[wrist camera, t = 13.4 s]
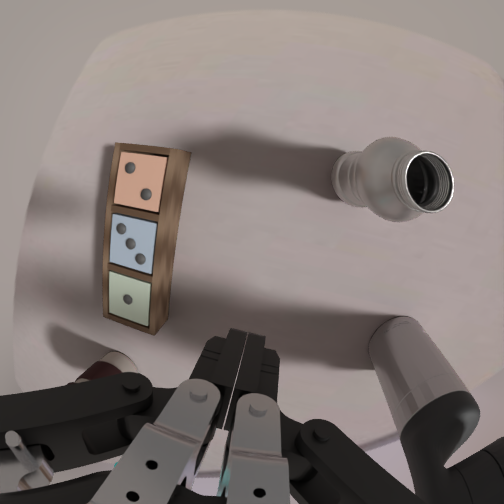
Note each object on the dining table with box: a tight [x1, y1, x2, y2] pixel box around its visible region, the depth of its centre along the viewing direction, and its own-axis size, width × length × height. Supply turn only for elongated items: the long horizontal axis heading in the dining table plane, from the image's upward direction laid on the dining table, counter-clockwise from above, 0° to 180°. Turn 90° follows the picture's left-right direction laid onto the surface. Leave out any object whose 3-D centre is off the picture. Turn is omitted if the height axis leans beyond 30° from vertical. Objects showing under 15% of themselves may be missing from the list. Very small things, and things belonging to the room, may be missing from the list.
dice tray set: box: [103, 143, 191, 336], centre depth 35 cm, size 24×9×5 cm, turn 168°
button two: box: [114, 152, 169, 212], centre depth 32 cm, size 6×6×3 cm
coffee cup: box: [67, 352, 138, 385], centre depth 38 cm, size 10×10×15 cm
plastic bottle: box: [331, 137, 454, 222], centre depth 23 cm, size 6×7×20 cm
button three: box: [110, 213, 158, 274], centre depth 34 cm, size 6×6×3 cm
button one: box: [109, 270, 152, 326], centre depth 36 cm, size 6×6×3 cm
